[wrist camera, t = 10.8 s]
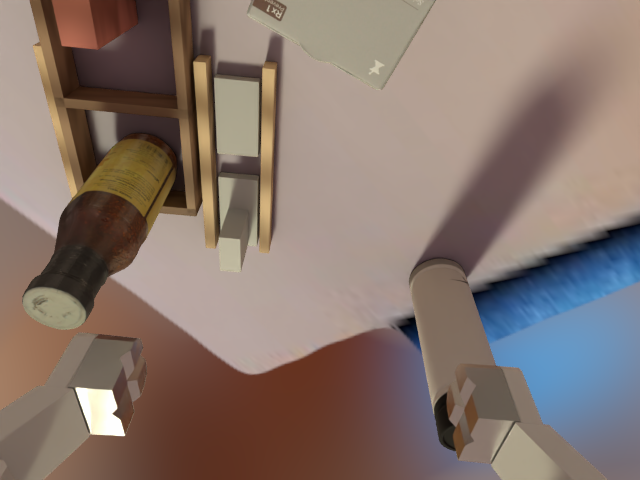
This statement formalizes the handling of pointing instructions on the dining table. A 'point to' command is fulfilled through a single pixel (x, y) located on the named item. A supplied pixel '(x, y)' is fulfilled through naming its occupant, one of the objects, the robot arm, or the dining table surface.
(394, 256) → the dining table surface
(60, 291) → the sauce bottle
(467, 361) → the travel mug
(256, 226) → the broken grey strip
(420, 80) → the dining table surface
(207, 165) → the oak lane rails
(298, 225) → the dining table surface
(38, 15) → the wooden condiment caddy
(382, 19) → the skincare box
